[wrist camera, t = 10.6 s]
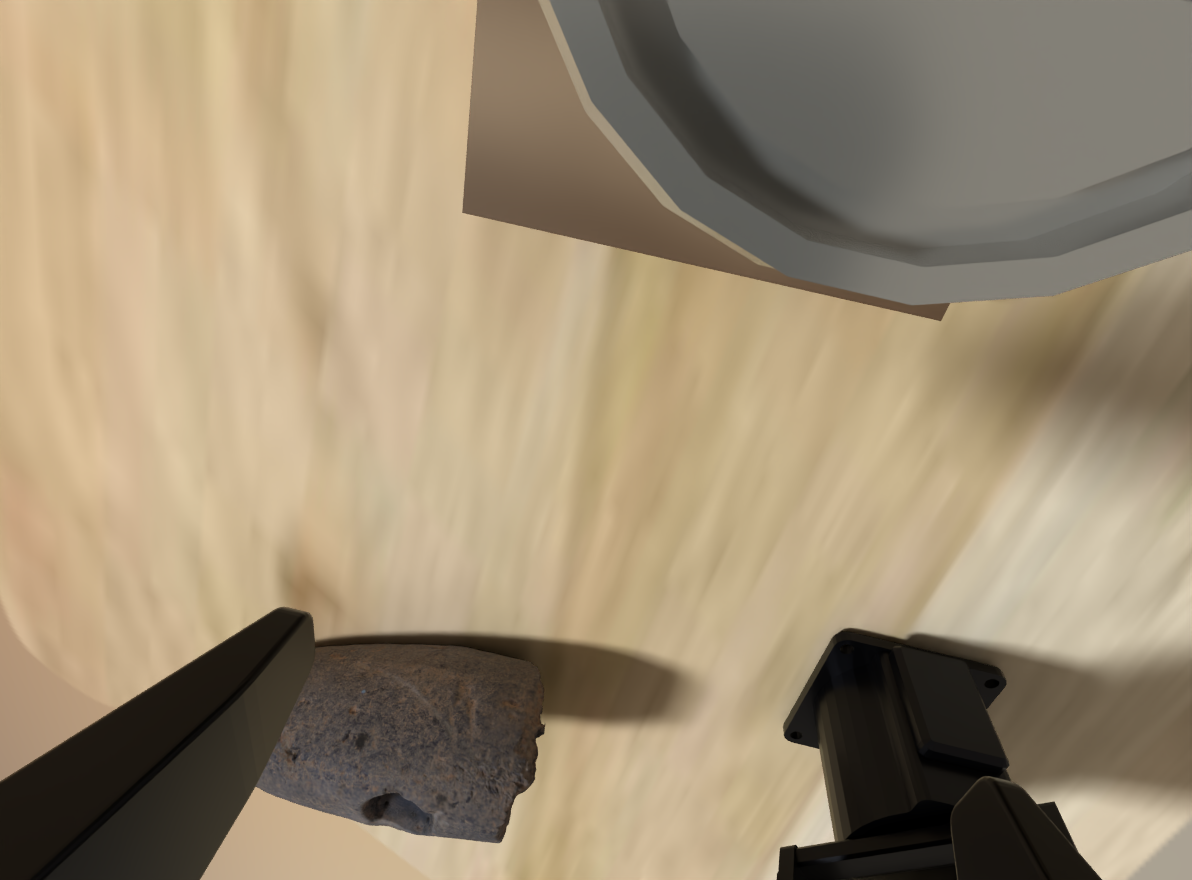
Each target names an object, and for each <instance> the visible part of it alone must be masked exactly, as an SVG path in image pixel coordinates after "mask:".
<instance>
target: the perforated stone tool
mask: <svg viewBox="0 0 1192 880" xmlns="http://www.w3.org/2000/svg"><path fill="white" fill-rule="evenodd" d="M543 700H544V688H543V685H542V682H541V680H540V673H539V670H538V667H536V666H534V665H533V664H532V663H530V662H528V661H524V660H520V659H516V658H511V657H506V656H502V655H499V654H495V653H490V652H486V651H479V650H476V649H472V648H467V647H461V646H440V645H422V644H361V645H346V646H326V647H316V648H315V660H314V664H313V667H312V669H311V672H310V674H309V676H308V678H307V680H306V682H305V684H304V687H303V689H302V691H301V693H300V695H299V697H298V699H297V701H296V704H295V706H294V708H293V710H292V712H291V714H290V716H289V718H288V720H287V723H286V725H285V727H284V729H283V731H282V733H281V735H280V737H279V740H278V742H277V744H276V746H275V748H274V750H273V752H272V754H271V757H270V759H269V761H268V763H267V765H266V767H265V769H264V771H263V773H262V775H261V777H260V779H259V781H258V783H257V785H256V786H255V787H258V788H260V789H261V790H263V791H265V792H267V793H269V794H272V795H274V796H276V797H279V798H282V799H285V800H288V801H290V802H293V803H296V804H299V805H302V806H306V807H309V808H312V809H316V810H319V811H322V812H325V813H329V814H333V815H336V816H341V817H344V818H348V819H351V820H354V821H357V822H360V823H363V824H366V825H375V826H378V825H382V826H390V827H393V828H396V829H398V830H403V831H405V832H408V833H412V834H416V835H425V836H437V837H447V838H457V839H466V840H474V841H482V842H491V843H500V842H501V841H502V839H503V837H504V835H505V832H506V827H507V825H508V824H509V820H510V815H511V808H512V805H513V802H514V799H515V798H516V796H517V795H518V794H520V793H523V792H524V791H526V790H527V789H528V788H529V787H530V786H531V784H532V783H533V782H534V780H535V772H536V764H535V762H536V760H537V756H538V748H537V745H536V738H537V737H540V736H541V735H543V734H544V730H545V728H544V727H545V725H543V724H541V721H540V714H541V713H542V709H543V708H542V707H543V706H542V703H543Z"/></svg>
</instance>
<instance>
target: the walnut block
mask: <svg viewBox="0 0 1192 880" xmlns="http://www.w3.org/2000/svg"><path fill="white" fill-rule="evenodd" d="M462 213H466V214H470V215H475V216H479V217H484V218H488V219H492V220H497V221H501V222H506V223H510V224H515V225H519V226H523V227H528V228H532V229H537V230H541V231H545V232H550V233H554V234H559V235H563V236H568V237H572V238H576V239H581V240H585V241H590V242H594V243H598V244H603V245H607V246H612V247H616V248H621V249H625V250H629V251H634V252H638V253H643V254H647V255H651V256H656V257H660V258H665V259H669V260H674V261H678V262H682V263H687V264H691V265H696V266H700V267H704V268H709V269H713V270H718V271H722V272H727V273H731V274H735V275H740V276H744V277H749V278H753V279H757V280H762V281H766V282H771V283H775V284H780V285H784V286H788V287H793V288H797V289H802V290H806V291H810V292H815V293H819V294H824V295H828V296H833V297H837V298H841V299H846V300H850V301H855V302H859V303H863V304H868V305H872V306H877V307H881V308H886V309H890V310H894V311H899V312H903V313H908V314H912V315H916V316H921V317H925V318H930V319H934V320H939V321H941V320H942V318H943V316H944V314H945V312H946V310H947V308H948V306H949V304H950V303H940V304H925V305H908V304H904V303H900V302H895V301H891V300H887V299H883V298H878V297H874V296H870V295H865V294H861V293H857V292H852V291H848V290H844V289H839V288H835V287H831V286H826V285H822V284H818V283H813V282H809V281H805V280H800V279H796V278H792V277H788V276H786V275H784V274H783V273H781V272H780V271H778V270H776V269H775V268H770V267H766V266H762V265H758V264H756V263H754V262H753V261H751V260H750V259H748V258H746V257H745V256H743V255H742V254H740V253H738V252H737V251H735V250H734V249H732V248H730V247H729V246H727V245H725V244H724V243H722V242H721V241H719V240H717V239H716V238H714V237H713V236H711V235H709V234H708V233H706V232H704V231H703V230H701V229H700V228H698V227H696V226H695V225H693V224H692V223H690V222H688V221H687V220H685V219H683V218H682V217H680V216H679V215H677V214H675V213H674V212H672V211H671V210H669V209H667V208H666V207H664V206H663V205H662V204H661V203H660V202H659V200H658V199H657V198H656V197H655V195H654V194H653V193H652V192H651V191H650V189H649V188H648V187H647V186H646V185H645V183H644V182H643V181H642V180H641V179H640V177H639V176H638V175H637V174H636V173H635V171H634V170H633V169H632V168H631V167H630V165H629V164H628V163H627V162H626V161H625V159H624V158H623V157H622V156H621V154H620V153H619V152H618V151H617V150H616V148H615V147H614V146H613V145H612V144H611V142H610V141H609V140H608V139H607V138H606V136H605V135H604V134H603V133H602V132H601V130H600V129H599V128H598V127H597V126H596V124H595V123H594V122H593V121H592V120H591V118H590V117H589V116H588V115H587V113H586V112H585V110H584V108H583V105H582V103H581V101H580V98H579V96H578V93H577V91H576V89H575V86H574V84H573V82H572V79H571V77H570V74H569V72H568V70H567V67H566V65H565V63H564V60H563V58H562V55H561V53H560V51H559V48H558V46H557V44H556V41H555V39H554V36H553V34H552V32H551V29H550V27H549V25H548V22H547V20H546V17H545V15H544V13H543V10H542V8H541V6H540V3H539V1H538V0H478V1H477V15H476V29H475V43H474V57H473V71H472V85H471V99H470V113H469V127H468V141H467V155H466V169H465V184H464V198H463V212H462Z"/></svg>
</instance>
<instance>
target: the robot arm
mask: <svg viewBox="0 0 1192 880" xmlns="http://www.w3.org/2000/svg"><path fill="white" fill-rule="evenodd" d="M843 645H847V646H843ZM314 660H315V638H314V624H313V617H312V616H311V614H310V613H308V612H305V611H301V610H297V609H293V608H289V607H280V608H277V609H275V610H273V611H271V612H270V613H268V614H267V615H265V616H263V617H262V618H260V619H259V620H257V621H255V622H254V623H252V624H251V625H249V626H247V627H246V628H244V629H243V630H241V631H240V632H238V633H236V634H235V635H233V636H232V637H230V638H228V639H227V640H225V641H224V642H222V643H220V644H219V645H217V646H216V647H214V648H212V649H211V650H209V651H208V652H206V653H204V654H203V655H201V656H200V657H198V658H196V659H195V660H193V661H192V662H190V663H188V664H187V665H185V666H184V667H182V668H180V669H179V670H177V671H176V672H174V673H173V674H171V675H169V676H168V677H166V678H165V679H163V680H161V681H160V682H158V683H157V684H155V685H153V686H152V687H150V688H149V689H147V690H145V691H144V692H142V693H141V694H139V695H137V696H136V697H134V698H133V699H131V700H129V701H128V702H126V703H125V704H123V705H121V706H120V707H118V708H117V709H115V710H113V711H112V712H110V713H109V714H107V715H106V716H104V717H102V718H101V719H99V720H98V721H96V722H95V723H93V724H91V725H90V726H88V727H87V728H85V729H83V730H82V731H80V732H79V733H77V734H75V735H74V736H72V737H70V738H69V739H67V740H66V741H64V742H63V743H61V744H59V745H58V746H56V747H54V748H53V749H51V750H50V751H48V752H47V753H45V754H43V755H42V756H40V757H38V758H37V759H35V760H34V761H32V762H31V763H29V764H27V765H26V766H24V767H23V768H21V769H19V770H18V771H16V772H15V773H13V774H11V775H10V776H8V777H7V778H5V779H3V780H2V781H0V880H200V879H201V877H202V875H203V874H204V872H205V870H206V869H207V867H208V865H209V864H210V862H211V860H212V859H213V857H214V855H215V854H216V852H217V850H218V848H219V847H220V845H221V844H222V842H223V840H224V839H225V837H226V835H227V834H228V832H229V830H230V829H231V827H232V825H233V824H234V822H235V820H236V819H237V817H238V815H239V814H240V812H241V810H242V809H243V807H244V805H245V804H246V802H247V800H248V799H249V797H250V795H251V793H252V792H253V790H254V788H255V786H256V785H257V783H258V781H259V779H260V777H261V775H262V773H263V771H264V769H265V767H266V765H267V763H268V761H269V759H270V757H271V754H272V752H273V750H274V748H275V746H276V744H277V742H278V740H279V737H280V735H281V733H282V731H283V729H284V727H285V725H286V723H287V720H288V718H289V716H290V714H291V712H292V710H293V708H294V706H295V704H296V701H297V699H298V697H299V695H300V693H301V691H302V689H303V687H304V684H305V682H306V680H307V678H308V676H309V674H310V672H311V669H312V667H313V664H314ZM1006 684H1007V683H1006V679H1005V677H1004V675H1003V673H1002V671H1001V670H1000V669H999V668H997V667H994V666H990V665H986V664H982V663H977V662H973V661H969V660H965V659H961V658H956V657H952V656H948V655H944V654H940V653H935V652H931V651H927V650H923V649H919V648H914V647H910V646H906V645H902V644H898V643H893V642H889V641H885V640H881V639H877V638H872V637H868V636H864V635H860V634H856V633H851V632H840V633H838V634H836V635H834V636H833V637H832V639H831V641H830V643H829V644H828V646H827V648H826V650H825V651H824V653H823V655H822V657H821V659H820V660H819V662H818V664H817V666H816V667H815V669H814V671H813V673H812V675H811V676H810V678H809V680H808V682H807V683H806V685H805V687H804V689H803V691H802V692H801V694H800V696H799V698H798V700H797V701H796V703H795V705H794V707H793V708H792V710H791V712H790V714H789V716H788V717H787V719H786V721H785V723H784V725H783V731H784V736H785V738H786V739H787V740H788V741H790V742H793V743H797V744H801V745H806V746H810V747H814V748H818V749H820V755H821V761H822V767H823V773H824V779H825V785H826V791H827V797H828V803H829V809H830V815H831V821H832V827H833V833H834V839H835V842H829V843H823V844H817V845H811V846H805V847H799V848H798V847H797V846H796V845H792V846H786V847H781V848H780V856H779V871H778V873H777V880H1102V879H1101V878H1100V877H1099V876H1098V874H1097V873H1096V872H1095V871H1094V870H1093V869H1092V867H1091V866H1090V865H1089V864H1088V863H1087V862H1086V861H1085V859H1084V858H1083V857H1082V856H1081V855H1080V854H1079V852H1078V850H1077V848H1076V846H1075V844H1074V842H1073V840H1072V838H1071V836H1070V833H1069V831H1068V829H1067V827H1066V825H1065V823H1064V821H1063V819H1062V817H1061V814H1060V812H1059V810H1058V808H1057V806H1056V804H1055V802H1048V803H1042V804H1036V803H1035V801H1034V800H1033V799H1032V798H1031V797H1030V796H1029V794H1028V793H1027V792H1026V791H1025V790H1024V789H1023V788H1022V787H1020V786H1019V785H1018V784H1016V783H1013V782H1011V779H1010V777H1009V775H1008V772H1007V770H1006V769H1007V768H1008V766H1009V761H1008V758H1007V756H1006V754H1005V751H1004V749H1003V747H1002V744H1001V742H1000V740H999V737H998V735H997V733H996V731H995V728H994V726H993V724H992V721H991V719H990V717H989V714H988V712H987V710H986V709H987V708H988V707H989V706H990V705H991V703H992V702H993V701H994V700H995V699H996V697H997V696H998V695H999V694H1000V692H1001V691H1002V690H1003V689H1004V688H1005V686H1006Z"/></svg>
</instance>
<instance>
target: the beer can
mask: <svg viewBox="0 0 1192 880" xmlns="http://www.w3.org/2000/svg"><path fill="white" fill-rule="evenodd" d="M538 1H539V3H540V6H541V8H542V10H543V13H544V15H545V17H546V20H547V22H548V25H549V27H550V29H551V32H552V34H553V36H554V39H555V41H556V44H557V46H558V48H559V51H560V53H561V55H562V58H563V60H564V63H565V65H566V67H567V70H568V72H569V74H570V77H571V79H572V82H573V84H574V86H575V89H576V91H577V93H578V96H579V98H580V101H581V103H582V105H583V108H584V110H585V112H586V113H587V115H588V116H589V117H590V118H591V120H592V121H593V122H594V123H595V124H596V126H597V127H598V128H599V129H600V130H601V132H602V133H603V134H604V135H605V136H606V138H607V139H608V140H609V141H610V142H611V144H612V145H613V146H614V147H615V148H616V150H617V151H618V152H619V153H620V154H621V156H622V157H623V158H624V159H625V161H626V162H627V163H628V164H629V165H630V167H631V168H632V169H633V170H634V171H635V173H636V174H637V175H638V176H639V177H640V179H641V180H642V181H643V182H644V183H645V185H646V186H647V187H648V188H649V189H650V191H651V192H652V193H653V194H654V195H655V197H656V198H657V199H658V200H659V202H660V203H661V204H662V205H663V206H664V207H666V208H667V209H669V210H671V211H672V212H674V213H675V214H677V215H679V216H680V217H682V218H683V219H685V220H687V221H688V222H690V223H692V224H693V225H695V226H696V227H698V228H700V229H701V230H703V231H704V232H706V233H708V234H709V235H711V236H713V237H714V238H716V239H717V240H719V241H721V242H722V243H724V244H725V245H727V246H729V247H730V248H732V249H734V250H735V251H737V252H738V253H740V254H742V255H743V256H745V257H746V258H748V259H750V260H751V261H753V262H754V263H756V264H758V265H762V266H766V267H770V268H775V269H776V270H778V271H780V272H781V273H783V274H784V275H786V276H788V277H792V278H796V279H800V280H805V281H809V282H813V283H818V284H822V285H826V286H831V287H835V288H839V289H844V290H848V291H852V292H857V293H861V294H865V295H870V296H874V297H878V298H883V299H887V300H891V301H895V302H900V303H904V304H908V305H925V304H940V303H954V302H969V301H984V300H998V299H1013V298H1028V297H1042V296H1054V295H1057V294H1060V293H1063V292H1066V291H1069V290H1072V289H1076V288H1079V287H1082V286H1085V285H1088V284H1091V283H1094V282H1097V281H1100V280H1103V279H1106V278H1109V277H1112V276H1115V275H1118V274H1121V273H1124V272H1127V271H1130V270H1133V269H1136V268H1139V267H1142V266H1145V265H1148V264H1151V263H1154V262H1157V261H1160V260H1163V259H1167V258H1170V257H1173V256H1176V255H1179V254H1182V253H1185V252H1188V251H1191V250H1192V0H538Z"/></svg>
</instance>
